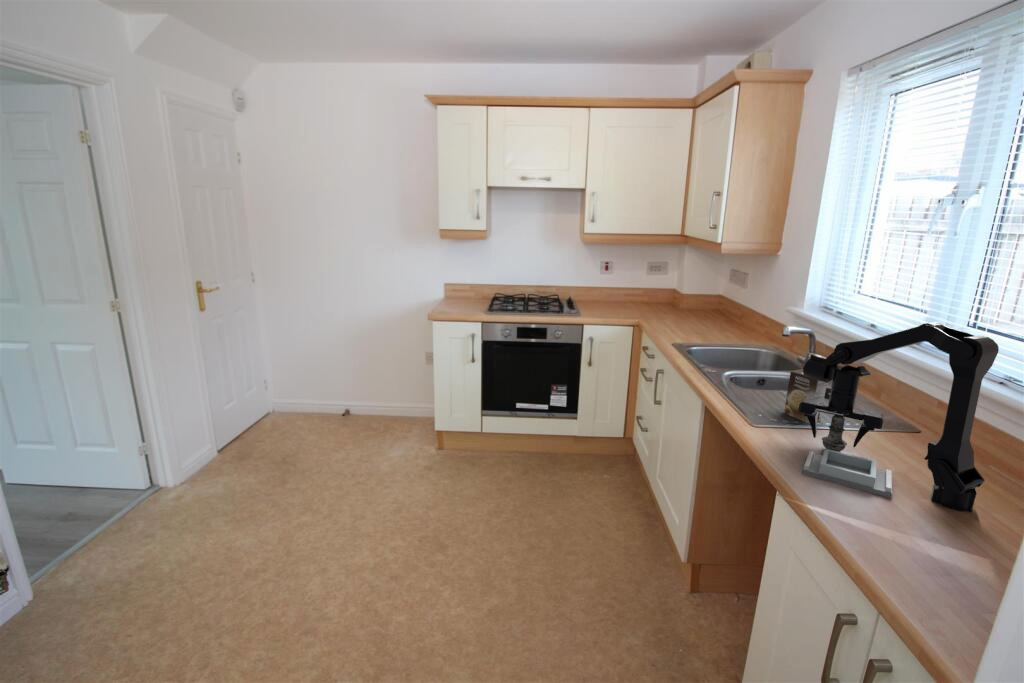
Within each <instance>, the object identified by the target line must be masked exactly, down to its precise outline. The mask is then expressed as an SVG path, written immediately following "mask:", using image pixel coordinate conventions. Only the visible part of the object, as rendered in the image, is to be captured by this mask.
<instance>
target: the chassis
mask: <svg viewBox="0 0 1024 683" xmlns="http://www.w3.org/2000/svg"><path fill="white" fill-rule="evenodd" d="M824 449H825V451H823V453H822V455H819V454H815V451H814V450H809V452H808V454H807V455H806V459H805V462H804V464H803V466H802V469H801V474H802V475H805V476H808V477H812V478H816V479H819V480H823V481H826V482H830V483H832V484H833V483H834V484H837V485H841V486H844V487H847V488H848V487H849V488H853V489H854V490H855V489H856V490H859V491H863V492H867V493H870V494H873V495H878V496H881V497H884V498H887V499H892V497H893V473H892V470H891V469H885V471H883V470H879V469H877V462H878V461H877V460H874V459H870V458H865V457H862V456H859V455H858V456H857V455H854V454H849V453H845V452H842V451H840V452H837V451H833V450H829V449H826V448H824Z"/></svg>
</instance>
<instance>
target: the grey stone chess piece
mask: <svg viewBox="0 0 1024 683" xmlns="http://www.w3.org/2000/svg"><path fill="white" fill-rule="evenodd" d="M845 419H846V418H845V417H842V416H837V415H832V418H831V421H830V425H829V426H828V428H829V431H828V434H827V436H823V437H822V438H821V440H822V445H823V447H824V449H823V450H822V451H823V452H824V451H825V449H829V450H833V451H837V452H842V451H844V449H845V448H846V446H847V445H848V443H847V442H846V441H845V440H843V433H844V431H845V430H846V429H845V428H844V427H845V421H846V420H845Z"/></svg>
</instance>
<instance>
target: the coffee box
mask: <svg viewBox="0 0 1024 683" xmlns="http://www.w3.org/2000/svg"><path fill="white" fill-rule="evenodd" d="M826 388H829V382H827V383H826V382H822V381H819V380H816V379H812V378H809V377H806V376H805V375H804V373H803V368H802V369H801V368H800V369H795V370H791V371H790V373H789V380H788V386H787V393H786V397H785V398H786V399H785V405H784V410H783V413H784V414H786V415H788V416H790V417H793V418H795V419H796V420H800V421H801V422H804V423H806V424H808V423H810V422H809V420H808V418H807V417H806V416H804V415H803V414H804V413H801V412H799V411H798V409H799V404H800V402H801V400H802V399H803V398H808V399H813V400H818V404H819V405H824V406H825V402H826V399H824V396H825V391H826ZM822 418H823V412H818V415H817V423H818V422H819V423H820V422H821V421H822Z"/></svg>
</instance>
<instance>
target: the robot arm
mask: <svg viewBox="0 0 1024 683" xmlns="http://www.w3.org/2000/svg"><path fill="white" fill-rule="evenodd" d="M925 342H927V343H929V344H930V345H932V346H933V347H935V348H936V349H937V350H939V351H941V352H943V353H945V354H948V363H949V367H950V369H951V373H952V376H953V378H952V383H951V389H950V394H949V399H948V404H947V410H946V414H945V419H944V425H943V429H942V435H941V437H940V439H938V440H935V441H931V442H928V443H927V454H926V456H925V457H924V460H926V464H927V468H928V470H929V471H930V472H931V474H932V480H933V483H934V484H933V485H932V489H931V492H930V501H931V502H933V503H936V504H939V505H941V506H942V507H945V508H946V509H950V510H952V511H957V512H968V513H972V512H973V508H974V505H975V501H976V497H977V488H980V487H981V486H982V485H983V484H984V483H985V481H986V480H985V479H984V477H983V476H982V474H981V473H980V472H979V470H978V469H977V467H975V452H974V449H973V447H972V443H971V435H972V429H973V426H974V425H973V424H974V421H975V416H976V412H977V406H978V402H979V397H980V392H981V391H980V390H981V386H982V383H983V379H984V378H985V376H986V374H987V373H988V372H989V370H991V368H992V367H993V365H994V363H995V360H996V358H997V356H998V354H999V351H1000V350H999V344H998V343H996V342H995V340H994V339H992V338H991V337H988V336H985V335H974V334H972V333H970V332H967V331H963V330H959V329H956V328H953V327H949V326H947V325H944V324H943V323H940V322H928V323H921V324H920V325H918V326H915V327H911V328H908V329H903V330H900V331H898V332H897V331H896V332H893V333H889V334H886V335H883V336H879V337H874V338H872V339H865V340H856V341H847V342H841V343H838V344H837V345H835V348H834V350H833V351H832V353H830V354H829V355H828V356H823V355H820V354H817V353H812V354H810V357H809V359H808V360H807V361H806V362H805V364H804V365H803V367H802V369H803V373H804V375H805V376H806V377H809V378H812V379H816V380H819V381H822V382H826V383H827V382H828V383H830V382H831V381H832V382H831V388H829V387H827V388H826V391H825V396H824V399H825V400H827V401H828V403H827V405H825V404H824V405H819V404H818V400H813V399H808V398H803V399H802V400H801V402H800V404H799V409H798V411H799V412H801V413H804V414H803V415H804V416H806V417H807V418H808V420H809V422H810V424H809V425H810V428H811V432H812V436H813V439H816V437H817V432H818V422H817V415H818V412H823V413H824V414H828V415H832V416H834V415H837V416H842V417H844V418H848V419H852V420H857V421H861V422H860V425H859V428H858V429H857V432H856V435H855V438H854V441H853V445H852V447H853V448H856V447H857V445H858V444H859V443H860V441H861V439H863V437H864V436H865V435H866V434H867V433H868V432H869V431H871V432H873V431H875V429H876V430H877V429H878V430H882V428H883V423H884V415H883V414H882V412H878V411H873V410H867V409H865V411H864V413H863V412H856V411H854V409H855V405H856V399H857V394H858V388H859V384H860V378H862V377H867V376H868V377H869V376H871V373H870V371H869V370H868V369H866V367H865V365H860V366H859V365H858V366H853V365H852V364H854V365H855V364H860V363H863V362H866V361H868V360H871V359H873V358H875V357H877V356H878V355H881V354H883V353H884V352H886V353H887V352H889V351H893V350H898V349H902V348H906V347H910V346H913V345H918V344H921V343H925ZM842 365H843V366H842ZM823 413H822V414H823Z"/></svg>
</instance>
